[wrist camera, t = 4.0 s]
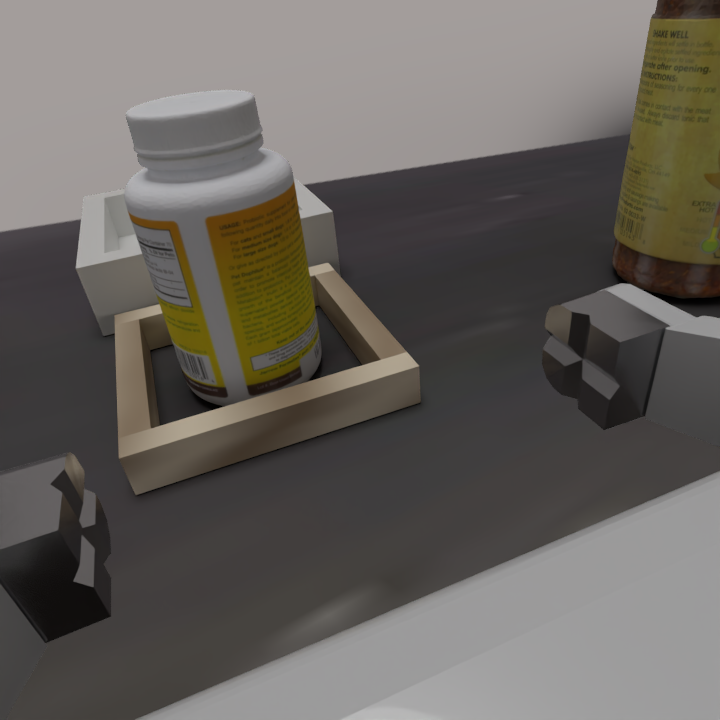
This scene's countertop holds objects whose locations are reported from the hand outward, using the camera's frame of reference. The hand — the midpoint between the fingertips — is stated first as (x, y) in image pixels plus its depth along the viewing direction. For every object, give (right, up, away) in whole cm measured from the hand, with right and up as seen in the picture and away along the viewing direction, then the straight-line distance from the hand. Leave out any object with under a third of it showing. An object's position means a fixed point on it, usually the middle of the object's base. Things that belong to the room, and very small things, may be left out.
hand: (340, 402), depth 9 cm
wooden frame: (-4, 0, +14) cm, 14 cm away
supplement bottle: (-4, 0, +14) cm, 14 cm away
